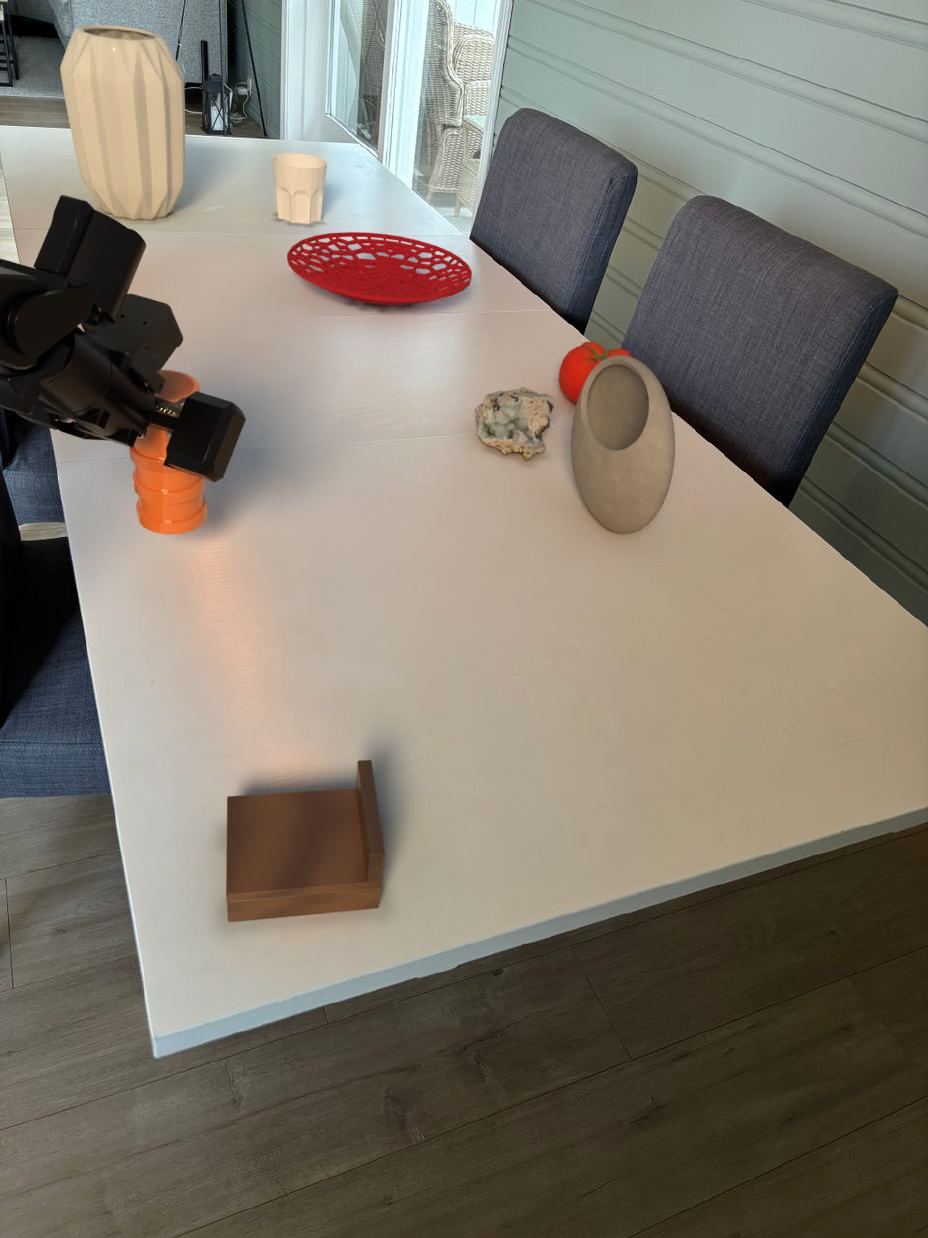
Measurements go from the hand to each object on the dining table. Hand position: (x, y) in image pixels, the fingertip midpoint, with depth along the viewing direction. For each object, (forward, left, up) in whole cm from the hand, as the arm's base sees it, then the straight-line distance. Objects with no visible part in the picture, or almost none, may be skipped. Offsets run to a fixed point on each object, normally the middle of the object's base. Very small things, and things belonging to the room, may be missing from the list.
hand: (176, 446), depth 81 cm
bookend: (+9, -36, -12) cm, 40 cm away
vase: (-13, +106, -13) cm, 107 cm away
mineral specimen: (+38, +25, -13) cm, 47 cm away
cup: (+16, +109, -13) cm, 111 cm away
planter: (+45, +7, -13) cm, 47 cm away
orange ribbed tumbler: (-1, -1, -7) cm, 7 cm away
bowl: (+27, +72, -13) cm, 78 cm away
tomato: (+53, +36, -13) cm, 65 cm away
